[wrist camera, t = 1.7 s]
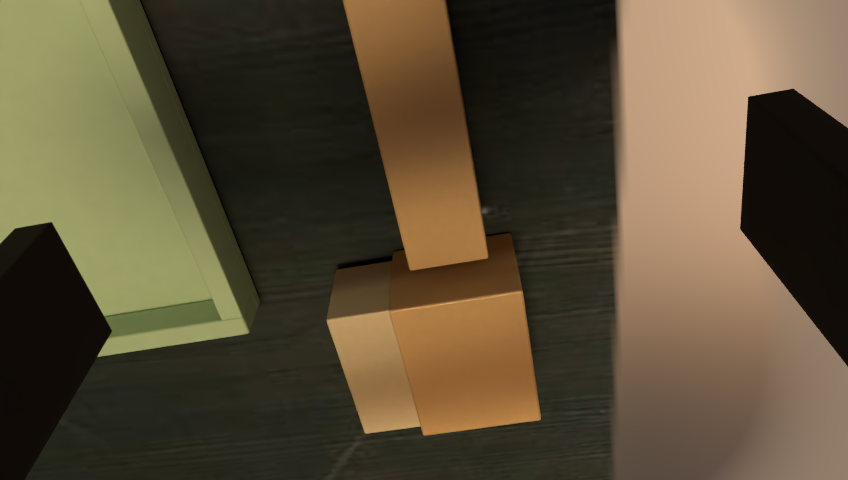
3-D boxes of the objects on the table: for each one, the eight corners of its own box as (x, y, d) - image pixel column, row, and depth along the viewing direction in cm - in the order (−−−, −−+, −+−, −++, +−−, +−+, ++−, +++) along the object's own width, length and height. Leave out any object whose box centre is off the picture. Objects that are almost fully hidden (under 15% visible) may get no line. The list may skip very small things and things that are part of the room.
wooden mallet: (213, -127, 19) (172, -114, 16) (450, -181, 18) (456, -179, 15) (371, 376, 29) (365, 444, 26) (528, 354, 28) (541, 420, 25)
